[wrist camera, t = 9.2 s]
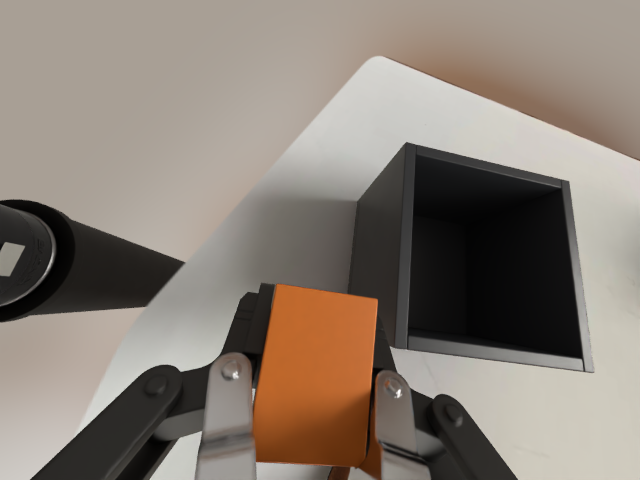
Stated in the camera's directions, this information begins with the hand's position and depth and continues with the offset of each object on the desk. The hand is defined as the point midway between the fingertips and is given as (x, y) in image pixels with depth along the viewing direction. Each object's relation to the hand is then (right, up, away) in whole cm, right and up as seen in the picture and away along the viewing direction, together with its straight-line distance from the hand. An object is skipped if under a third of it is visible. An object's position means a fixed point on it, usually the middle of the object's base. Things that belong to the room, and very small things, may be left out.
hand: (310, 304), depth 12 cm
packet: (-1, -3, +4) cm, 5 cm away
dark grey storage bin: (+10, 0, +15) cm, 18 cm away
